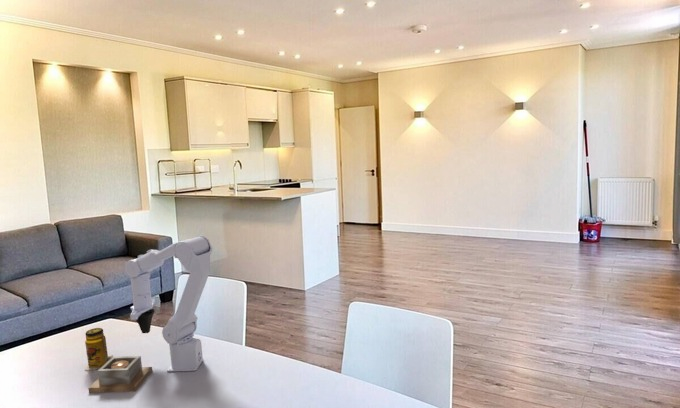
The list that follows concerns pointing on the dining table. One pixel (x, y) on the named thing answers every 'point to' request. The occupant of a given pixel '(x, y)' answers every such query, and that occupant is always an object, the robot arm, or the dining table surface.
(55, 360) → the dining table surface
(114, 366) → the plunger
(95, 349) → the condiment
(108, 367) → the base
